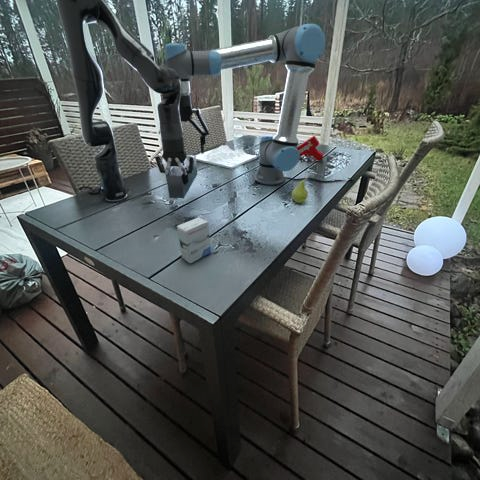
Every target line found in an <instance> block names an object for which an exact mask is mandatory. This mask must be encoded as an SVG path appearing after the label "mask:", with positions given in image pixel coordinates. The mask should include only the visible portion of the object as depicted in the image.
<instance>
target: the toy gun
mask: <svg viewBox="0 0 480 480" xmlns="http://www.w3.org/2000/svg"><path fill="white" fill-rule="evenodd" d="M319 144H320V141H319V140H318V138H317V137H316V136H315V135H313V136H311V137H310V138H308V139H306V140H305V141H304V142H302V143H301V144H298V146H297V150H298V152H299V155H300V158H301V157H303V156H304V157H305V158H309V157H310V156H311V157H313V158H314V159H315V160H316V162H317V163H319V161H317V160H320V159H321V161H323V158H324V154H323V153H322V152H320V151H319V149H317V147H318V146H319Z"/></svg>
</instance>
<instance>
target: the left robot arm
mask: <svg viewBox="0 0 480 480" xmlns="http://www.w3.org/2000/svg"><path fill="white" fill-rule="evenodd" d="M55 1H56V6H57V11H58V15H59V18H60V22H61V27H62V30H63V33H64V37H65V40H66V41H65V42H66V44H67V45H66V46H67V51H68V54H69V60H70V66H71V74H72V79H73V83H74V89H75V94H76V99H77V104H78V113H79V120H80V121H79V122H80V131H81V136H82V139H83V141H84V143H85V145H86V146H88V147H90V148H96V147H103V148H102V149H101V150H100V151H99V152H97V153H95V155H93V160H94V161H93V162H94V164H95V168H96V170H97V174H98V177H99V178H98V180H99V186H100V187H99V188H98V191H94V187H92V186H86V185H82V186H80V187H79V189H78V190H82V189H89V191H88V193H89V194H91V195H97V194H100V193H101V192H102V193H103V194H102V195H103V197H104V199H105V201H106V202H108V203H119V202H123V201H125V200H126V199H127V198H128V194H127V189H126V186H125V182H124V178H123V173H122V170H121V167H120V162H119V159H118V152H117V148H116V143H115V137H114V133H113V132H114V131H113V129H112V127H111V124H110V123H109V122H108V121H107V120H96V121H94V115H95V112H96V109H97V108H98V106H99V104H100V102H101V100H102V98H103V96H104V93H105V86H104V78H103V71H102V69H101V66H100V64H99V62H98V61H97V60H96V57H95V56H94V55H93V53H92V52H91V50H90V49H89V47H88V44H87V40H86V36H85V35H86V34H85V28H84V27H85V26H84V25H86V24H97V25H98V26H100V27H101V28H102V29H103V30H105V31H106V33H108V35H109V36H110V38H111V40H112V43H113V45H114V48H115V50H116V52H117V53H118V55H120V57H121V58H122V59H123V60H124V61H125V62H126V63H127V64H129V65H130V66H131V67H132V68H133V69H134V70H135V71H137V73H138V75H139V76H140V78H141V79H142V80H143V82H144V83H145V85H146V86H147V87H148V88H149V89H150V90H151V91H153V92H154V93H156V94H159V95H161V100H160V102H159V103H158V104H157V106H156V107H157V108H156V111H157V117H158V123H159V124H158V126H159V129H160V134H159V135H160V141H161V147H162V154H157V155H156V156H155V157H154V160H155V162H156V166H157V168H158V170H159V173H161V174H164V175H165V176H166V175H167V174H168V173H169V172H170V170H171V169H172V168H173V167H174V166H177V167H180V169H181V170H182V171H183V173H184V183H185V185H187V183H188V182H189V175H188V174H189V173H190V174H191V173H192V171H193V167H194V156H193V155H194V154H191V155H192V156H189V155H190V154H187V153H186V149H185V141H184V139H185V138H184V130H183V126H182V122H181V120H180V111H179V104H180V93H181V83H180V78H179V75H178V73H177V72H176V70H175V69H173V68H171V67H166V66H160V65H158V64H157V63H156V60H155V56H154V54H153V53H152V51H150V49H149V48H148V47H147V46H146V45H145V44H144V43H142V42H141V40H139V39H138V38H137V37H136V36H135V35H134V34H133V33H132V32H131V31H130V30H129V29H128V28H127V27H126V26H125V25H124V23H123V22H122V21H121V20H120V19H119V17H118V16H117V15H116V13H115V12H114V11H113V10H112V9H111V7H110V6H109V5H108V4H107V2H106V1H105V0H55ZM186 158H187V160H188V162H189V169H187V167H186V164H185V162H184V161H185V159H186ZM163 161H165V162H166V166H165V165H164V163H163ZM165 179H166V178H165ZM166 181H167V179H166Z"/></svg>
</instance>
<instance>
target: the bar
mask: <svg viewBox="0 0 480 480" xmlns="http://www.w3.org/2000/svg"><path fill="white" fill-rule="evenodd" d="M188 155H189V156H192V155H193V156H194V167H193V171H192V173H191V174H190V173H189V174H188V175H189V182H188V183H187V185H185V183H184V173H183V171H182V170H181V169H180V167H177V166H173V167H171V170H170V172H169V173H168V174H167V175H165V179H167V180H166V185H167V190H168V197H169V199H185V197H186V196H187V194H188V193H189V190H190V189H191V187H192V185H193V183H194V181H195V179H196V178H197V176H198V165H197V161H196V155H197V154H188ZM184 162H185V164H186V167H187V169H189V162H188V160H187V158H186V159H185V161H184Z"/></svg>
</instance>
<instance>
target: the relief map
mask: <svg viewBox="0 0 480 480" xmlns="http://www.w3.org/2000/svg"><path fill="white" fill-rule="evenodd" d="M195 155H196V162H201V163H204V164H209V165H214V166H217V167H222V168H226V169H230V170H233V169H235V168H237V167H240V166H241V165H244V164H247V163H250V162H252V161H254V160H256V159H258V155H256V154H249V153H246V152H245V151H244V149H242V148H238V149H235V150H233V149H231V148H230V147H229V146H228V145H227V144H225V145H224V144H221V145H220V146H219V147H216V148H213V149H210V150H208V151H204V153H203V154H201V152H200V153H198V154H195Z"/></svg>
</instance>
